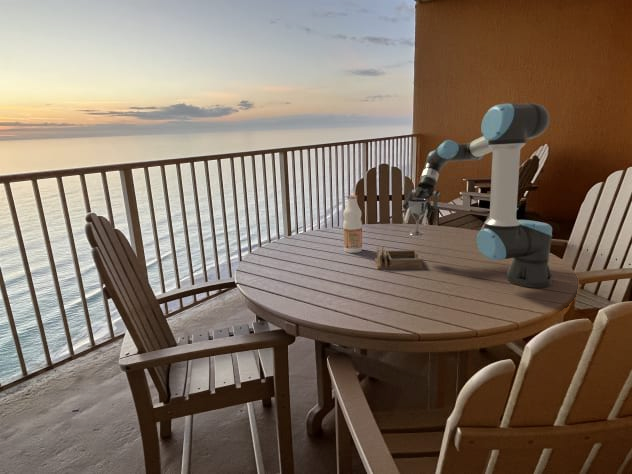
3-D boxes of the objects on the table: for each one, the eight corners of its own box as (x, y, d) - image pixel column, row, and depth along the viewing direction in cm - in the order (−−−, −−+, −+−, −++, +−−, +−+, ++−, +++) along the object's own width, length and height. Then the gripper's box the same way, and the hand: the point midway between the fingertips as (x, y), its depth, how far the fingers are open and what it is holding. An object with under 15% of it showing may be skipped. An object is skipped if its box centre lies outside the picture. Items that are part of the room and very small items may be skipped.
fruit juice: (339, 250, 193) (338, 196, 186) (352, 246, 199) (351, 193, 192) (353, 254, 186) (353, 197, 179) (366, 250, 192) (365, 195, 185)
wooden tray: (422, 268, 163) (422, 255, 161) (378, 269, 164) (378, 256, 162) (415, 258, 176) (416, 246, 175) (374, 259, 178) (374, 247, 176)
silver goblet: (424, 231, 172) (426, 198, 168) (427, 235, 165) (428, 201, 161) (407, 231, 173) (407, 198, 169) (408, 235, 166) (409, 202, 162)
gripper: (452, 186, 170) (439, 230, 162) (408, 185, 181) (394, 225, 173) (449, 176, 165) (436, 220, 156) (404, 175, 176) (390, 216, 168)
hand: (414, 222), depth 165 cm, fingers closed on silver goblet, 7 cm apart
